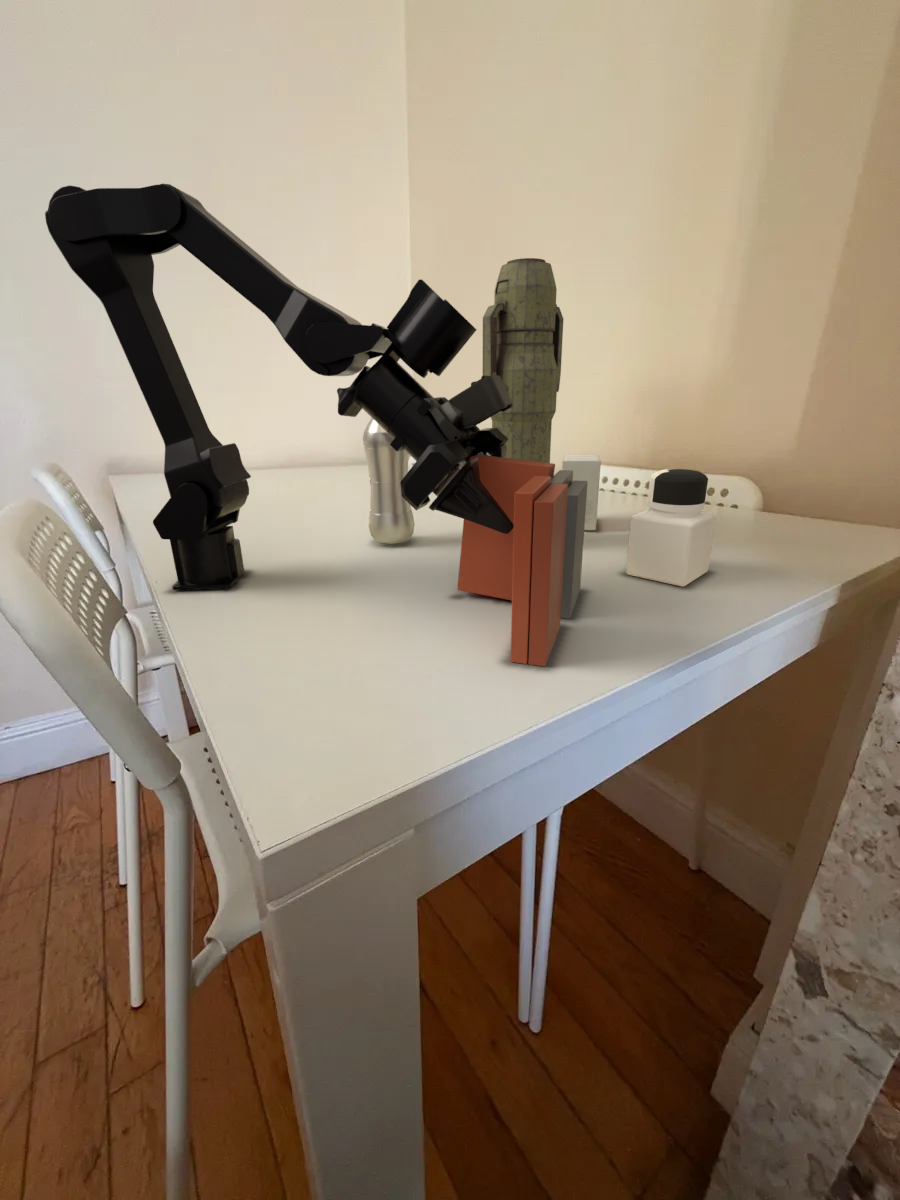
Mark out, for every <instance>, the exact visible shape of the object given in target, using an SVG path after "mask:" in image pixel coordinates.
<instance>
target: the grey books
mask: <svg viewBox="0 0 900 1200" xmlns="http://www.w3.org/2000/svg"><path fill="white" fill-rule="evenodd" d="M552 483H553V484H568V497H567V515H566V532H565V550H564V567H563V584H562V602H561V619H567V620H570V619H571V618H572V615H573V612H574V609H575V607H576V604H577V601H578V598H579V595H580V593H581V580H582V567H583V553H584V538H585V530H584V526H585V512H586V497H587V483H588V481H573V471H571V470H562V469H560V470H558V471H557V472H556V473H554V476H553V477H552V478H551V483H550V485H551V484H552Z"/></svg>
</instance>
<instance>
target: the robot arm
mask: <svg viewBox="0 0 900 1200" xmlns="http://www.w3.org/2000/svg"><path fill="white" fill-rule="evenodd" d="M44 218H45V225H46V228H47V230H48V233H49V235H50V236H51V239H52V240H53V242H54V243H55V245H56V247H57V248H58V250H59V252H60V253H61V255H62V256H63V258H64V259H65V261H66V263H67V265H68V266H69V268H70V269H71V270H72V272H73V273H74V274H75V275H76V276H77V277H78V278H79V279H80V281H82V282H83V283H84V284H85V285H86V286H87V287H88V289H89V290H90V291H91V292H92V293H93V294H94V295H95V296H96V297H97V298H98V299H99V301H100V303H101V304H102V306H103V308H104V310H105V312H106V314H107V316H108V319H109V321H110V323H111V326H112V328H113V331H114V333H115V335H116V337H117V339H118V342H119V344H120V346H121V348H122V351H123V353H124V355H125V357H126V360H127V362H128V364H129V367H130V368H131V369H130V370H131V371H132V373H133V375H134V378H135V380H136V382H137V384H138V387H139V389H140V391H141V393H142V396H143V398H144V400H145V403H146V404H147V407H148V409H149V412H150V414H151V416H152V418H153V421H154V422H155V425H156V427H157V429H158V432H159V434H160V436H161V439H162V441H163V444H164V461H163V476H164V479H165V482H166V487H167V490H168V493H169V497H170V498H169V499H168V501H167V502H166V503H165V504H164V505H163V507H162V508H161V509H160V511H159V512H158V513H157V515H156V516H155V517H154V518H153V521H152V525H153V526H154V528H155V530H156V532H157V534H158V535H159V537H160V539H162V540H169V543H170V548H171V553H172V559H173V563H174V568H175V569H174V570H175V574H176V578H177V581H176V582H175V583H173V584H172V590H173V591H186V590H187V591H188V590H189V591H190V590H193V591H194V590H217V589H218V590H219V589H231V588H232V587H233V586H234V584H235V583H236V582H237V581H238V580H239V579H240V578H241V576H242V575H244V573H245V572H246V570H245V569H246V568H245V567H244V566H245V565H244V560H243V553H242V547H241V546H242V545H241V541H240V539H239V538H236V537H235V531H234V526H233V525H232V524H235V523H237V522H238V521H239V517H240V510H241V509H242V507H243V506H244V505H245V504H246V502H247V499H248V497H249V495H250V486H249V483H248V479H250V478H252V476H251V474H250V473H249V472H248V471H247V469H246V467H245V466H244V464H243V461H242V456H241V453H240V450H239V448H238V445H237V444H236V443H235V442H232V443H228V444H223V443H221V442H220V441H219V440H218V439H217V437H216V436H215V435H214V434H213V433H212V432H211V430H210V428H209V426H208V425H209V424H208V423H207V420H206V418H205V415H204V414H203V410H202V409H201V406H200V404H199V401H198V399H197V397H196V395H195V392H194V389H193V387H192V385H191V382H190V380H189V378H188V374H187V372H186V370H185V368H184V366H183V362H182V360H181V358H180V356H179V353H178V351H177V349H176V346H175V344H174V342H173V339H172V336H171V334H170V331H169V329H168V327H167V324H166V322H165V320H164V316H163V315H162V313H161V310H160V308H159V305H158V303H157V300H156V298H155V294H154V279H155V277H154V276H155V263H154V258H153V256H155V255H161V254H165V253H167V252H170V251H171V250H174V249H176V248H177V247H180V246H181V247H182V248H184V249H185V250H186V251H187V252H188V253H189V254H191V255H192V256H193V257H194V258H196V259H197V260H198V261H199V262H201V264H203V265H204V266H206V267H207V268H208V270H210V271H211V272H213V273H214V274H215V275H217V276H218V277H219V279H221V280H223V281H224V282H225V283H226V284H227V285H229V286H230V287H231V288H232V289H233V290H235V291H236V292H237V293H238V294H239V295H241V296H242V297H243V298H244V299H246V300H247V301H248V302H249V303H250V304H252V305H253V306H254V307H255V308H256V309H258V310H259V311H260V312H261V313H262V314H264V315H265V316H266V317H267V318H268V319H269V321H270V322H271V323H272V324H273V325H274V326H275V328H276V329H277V331H278V333H279V334H280V336H281V337H282V339H283V341H284V342H285V343H286V344H287V346H288V347H289V348H290V349H291V350H292V351H293V353H295V354H296V355H297V357H298V358H299V359H300V360H301V362H303V363H304V365H305V366H306V367H307V368H309V370H310V371H312V372H314V374H315V373H316V374H317V375H320V376H323V377H324V376H325V377H351V376H354V375H356V374H358V375H357V376H356V377H355V379H354V380H353V381H352V383H350V385H349V386H348V387H343V388H342V387H338V388H337V389H336V393H337V397H338V401H337V413H338V414H337V415H339V416H343V417H351V418H356V417H357V416H358V415H359V414H360V412H361V410H363V411H364V412H365V413H366V414H367V415H369V417H371V418H373V419H374V420H375V421H376V422H377V423H378V424H379V425H380V426H381V427H382V428H383V429H384V430H385V431H386V432H387V433H388V434H389V435H390V436H391V437H392V438H393V439H394V440H393V441H392V442H391V444H390V445H391V446H392V447H393V448H394V449H395V450H396V451H401V450H405V451H407V452H408V453H409V456H410V457H411V458H412V459H413V460H414V461H415V463H414V464H413V465H412V466H411V467H410V469H408V473H407V474H406V475H405V477H404V478H403V479H402V480H401V482H400V484H401V494H402V497H403V498H404V499H405V500H406V501H407V502H408V503H409V504H410V505H411V507H412V508H413V510H415V511H418V510H421V508H424V507H425V506H427V505H428V504H429V503H430V501H431V498H430V496H431V494H434V495H435V496H436V498H435V499H434V500H433V501H432V502H431V503H430V505H429V506H428V509H430V510H431V511H438V512H441V513H445V514H448V515H450V516H454V517H456V518H460V519H463V520H464V519H466V520H468V521H471V522H474V523H477V524H480V525H482V526H485V527H488V528H490V529H493V530H496V531H499V532H501V533H504V534H508V533H509V532H510V531H511V530H512V529H513V528H514V524H513V523H512V521H511V520H510V519H509V517H508V516H507V514H506V513H505V512H504V510H503V509H502V508H501V507H500V505H499V504H498V503H497V502H496V500H495V499H494V498H493V496H492V495H491V494H490V493H489V491H488V490H487V489H486V488H485V486H484V485H483V484H482V482H481V480H480V474H479V461H478V457H476V458H473V459H471V460H470V457H472V456H476V455H487V456H495V457H503V458H506V451H507V446H506V444H505V443H506V442H507V441H508V438H507V437H506V436H505V435H504V434H503V433H502V432H501V431H500V430H499V429H498V428H492V427H485V428H481V429H480V427H478V426H477V425H479V424H481V423H483V422H485V421H486V420H488V419H491V416H493V415H495V414H497V413H498V412H500V411H501V412H504V411H506V410H508V409H509V408H511V407H512V406H513V405H514V404H513V402H512V400H511V398H510V396H509V394H508V392H509V387H508V386H507V385H505V384H504V383H503V381H502V379H501V377H500V376H499V375H491V376H483V375H481V377H480V379H478V380H476V381H472V382H471V383H470V386H469V387H467V388H465V389H464V390H462V391H461V392H459V393H458V394H456V395H454V396H453V397H451V398H450V399H448V398H446V396H445V397H444V396H443V397H442V396H440V397H439V396H438V397H434V396H433V395H432V394H431V393H430V392H428V390H427V389H426V388H425V387H424V386H423V385H421V384H420V382H418V381H417V380H416V378H414V377H413V376H412V375H411V374H410V373H409V371H407V370H406V369H405V368H404V367H403V366H402V365H401V364H400V363H399V361H400V360H401V361H402V362H403V363H405V364H406V366H407V367H409V368H410V369H411V370H412V371H413V372H415V374H417V375H418V376H420V377H421V378H423V379H425V378H426V377H427V376H428V374H429V373H430V374H434V375H435V376H437V377H440V376H441V375H442V373H443V372H444V371H445V370H446V369H447V368H448V366H449V365H450V364H451V363H452V361H453V360H454V359H455V357H456V356H457V355H458V354H459V352H460V351H461V350H462V349H463V348H464V346H465V345H466V344H467V342H468V341H469V340H470V339H471V338H472V336H473V335H474V334H475V333H476V331H477V328H475V326H474V325H472V323H471V322H470V321H468V319H466V317H465V316H463V315H462V314H461V313H460V312H459V310H457V309H456V308H455V307H454V306H453V305H452V304H451V303H450V302H449V301H448V300H447V299H446V298H444V299H443V298H442V297H441V296H440V295H439V294H438V293H437V292H436V291H434V289H432V287H430V286H429V285H428V284H427V282H426V281H425V280H424V279H418V280H417V281H416V283H415V284H414V286H412V288H411V289H410V292H409V295H408V297H407V299H406V300H405V302H404V303H403V304H402V306H401V307H400V308H399V310H398V311H397V313H396V314H395V315H394V316H393V318H392V319H391V320H390V322H389V323H388V325H387V326H386V327H385V326H383V325H379V324H378V323H374V322H373V323H371V324H370V325H367V324H362V323H361V322H360V321H358V320H357V319H355V318H354V317H352V316H350V315H348V314H347V313H345V312H343V311H342V310H340V309H339V308H336V307H335V306H332V305H331V304H329V303H328V302H327V301H323V300H322V299H320V298H318V297H316V296H315V295H313V294H311V293H309V292H307V291H306V290H304V289H302V288H300V287H298V286H297V284H295V283H294V282H293V281H291V280H290V279H289V278H288V277H287V276H285V275H284V274H283V273H282V272H281V271H280V270H278V269H277V268H276V267H274V266H273V265H272V264H271V263H270V262H268V261H267V260H266V259H265V258H264V257H262V255H260V253H258V252H256V250H255V249H253V248H252V247H251V246H249V245H248V244H247V243H246V242H245V241H244V240H243V239H241V238H240V237H239V236H237V234H235V233H234V232H233V231H232V230H230V229H229V228H228V227H227V226H226V225H224V224H223V223H222V222H221V221H220V220H218V219H217V218H216V217H215V216H214V215H212V214H211V213H210V212H209V211H207V209H206V208H205V207H204V205H203V203H201V201H200V200H198V199H197V198H196V197H194V196H192V195H191V194H188V193H186V192H185V191H183V190H181V189H179V188H177V187H176V186H173V185H172V184H171V183H159V184H153V185H149V186H143V187H100V188H93V189H92V188H91V189H88V190H87V189H86V188H82V187H80V186H75V185H65V186H61V187H60V188H58V189H57V190H56V191H54V192H53V193H52V196H51V198H50V200H49V202H48V207H47V210H45V212H44ZM376 358H379V359H378V360H377V361H376V362H374V364H373V365H372V366H371V367H370V366H368V365H367V363H368V360H373V359H376ZM504 444H505V445H504Z"/></svg>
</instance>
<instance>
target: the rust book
mask: <svg viewBox="0 0 900 1200" xmlns="http://www.w3.org/2000/svg"><path fill="white" fill-rule="evenodd" d="M476 457H478V461H479V474H480V480H481V482H482V484H483V485H484V486H485V488H486V489H487V490H488V491H489V493H490V494H491V495H492V496H493V498H494V499H495V500H496V502H497V503H498V504H499V505H500V507H501V508H502V509H503V510H504V512H505V513H506V514H507V516H508V517H509V519H510V520H511V521H512V523H513V524H514V494H515V492H516V491H517V490H519V489H520V488H521V487H522V486H523V485H525V484H526V483H527V482H528V481H530V480H531V479H532V478H533V477H534V476H550V477H551V478H552V477H553V476H554V475H555V469H556V464H555V463H552V462H550V463H544V462H536V461H528V460H519V459H511V458H503V457H495V456H487V455H476V456H472V457H470V460H471V459H473V458H476ZM461 535H462V536H461V548H460V556H459V557H460V558H459V567H458V577H457V579H458V580H457V590H458V591H461V592H466V593H471V594H476V595H481V596H487V597H492V598H497V599H501V600H502V599H503V600H507V601H512V578H513V536H514V528H513V529H512V530H511V531H510V532H509V533H508V534H504V533H501V532H499V531H496V530H493V529H490V528H488V527H485V526H482V525H480V524H477V523H474V522H471V521H468V520H466V519H463V524H462V534H461Z"/></svg>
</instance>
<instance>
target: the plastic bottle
mask: <svg viewBox="0 0 900 1200" xmlns="http://www.w3.org/2000/svg"><path fill="white" fill-rule="evenodd" d="M393 440H394V439H393V438H392V437H391V436H390V435H389V434H388V433H387V432H386V431H385V430H384V429H383V428H382V427H381V426H380V425H379V424H378V423H377V422H376V421H375V420H374V419H373V418H372V417H371V418H370V420H369V421H368V422H367V424H366V426H365V428H364V430H363V433H362V444H363V446H364V447H363V449H364V455H365V458H366V459H365V460H366V463H367V464H366V465H367V468H368V469H367V470H368V477H369V485H370V486H369V487H370V503H369V504H370V508H369V509H370V510H369V516H368V529H369V533H370V536H371V537H372V539H373V540H374V541H375V542H377V543H380V544H391V545H392V544H393V545H394V544H398V543H404V542H407V541H409V540H411V538H412V537H413V535H414V531H415V519H414V514H413V510H412V508H411V507H412V506H411V505H410V504H409V503H408V502H407V501H406V500H405V499H404V498H403V497H402V494H401V484H400V482H401V480H402V479H403V478H404V477H405V475H406V474H407V473H408V472H409V457H410V454H409V453H408V452H407V451H405V450H401V451H396V450H395V449H394V448H393V447H392V446H391V445H390V444H391V442H392V441H393Z"/></svg>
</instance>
